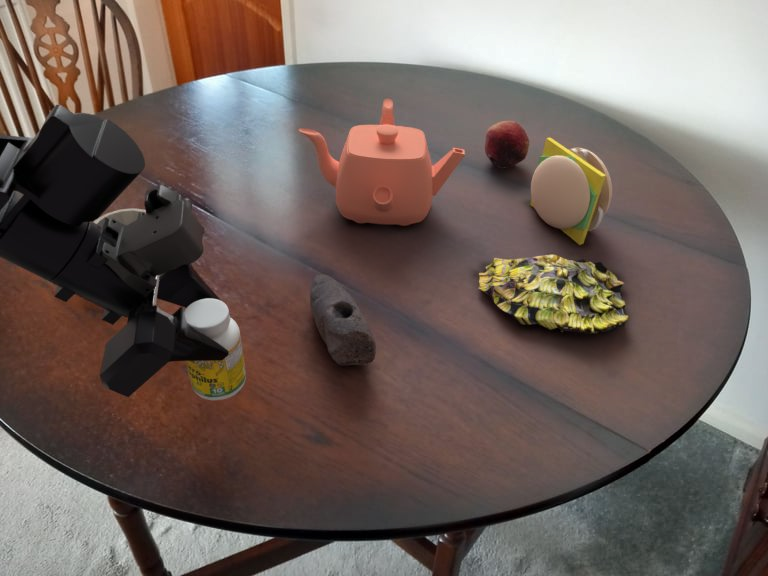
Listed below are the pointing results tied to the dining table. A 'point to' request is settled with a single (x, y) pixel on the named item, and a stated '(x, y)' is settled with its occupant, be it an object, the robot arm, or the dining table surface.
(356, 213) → the teapot
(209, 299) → the supplement bottle
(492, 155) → the fruit
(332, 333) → the perforated stone tool
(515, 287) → the scaly yellow mound
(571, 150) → the hamburger
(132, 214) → the beige cup
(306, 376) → the dining table surface
